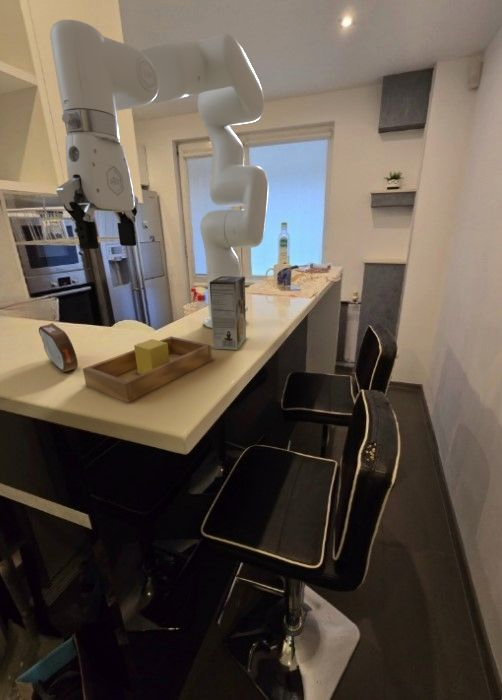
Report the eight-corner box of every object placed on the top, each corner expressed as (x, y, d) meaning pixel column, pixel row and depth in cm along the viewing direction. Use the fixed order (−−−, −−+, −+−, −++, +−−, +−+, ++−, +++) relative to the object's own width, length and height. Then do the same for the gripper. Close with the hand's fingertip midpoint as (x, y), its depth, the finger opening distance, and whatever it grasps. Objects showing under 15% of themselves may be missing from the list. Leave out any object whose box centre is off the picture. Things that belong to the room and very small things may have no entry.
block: (155, 365, 69) (151, 338, 67) (170, 370, 67) (167, 342, 65) (137, 373, 65) (133, 345, 63) (153, 378, 63) (149, 349, 61)
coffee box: (223, 337, 87) (220, 275, 81) (246, 338, 85) (245, 276, 80) (212, 348, 78) (208, 281, 73) (238, 350, 77) (236, 282, 71)
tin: (81, 373, 65) (73, 333, 62) (64, 378, 63) (55, 337, 60) (58, 354, 76) (50, 319, 73) (43, 358, 74) (34, 322, 71)
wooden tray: (172, 350, 78) (171, 336, 76) (211, 360, 72) (211, 345, 70) (86, 385, 60) (82, 368, 59) (128, 403, 54) (125, 384, 53)
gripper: (67, 111, 42) (91, 250, 48) (146, 142, 57) (157, 244, 63) (23, 117, 44) (51, 249, 50) (111, 145, 59) (124, 244, 65)
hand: (110, 247), depth 57 cm, fingers open, 9 cm apart
